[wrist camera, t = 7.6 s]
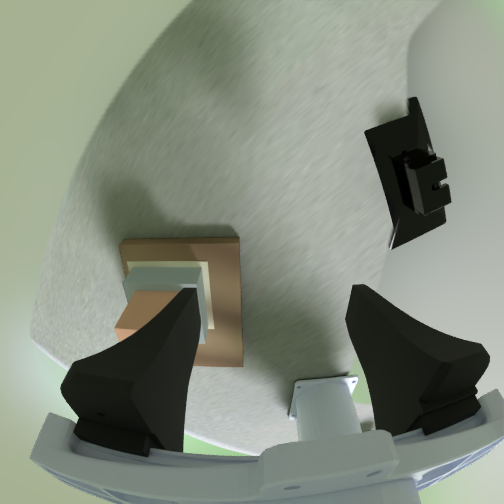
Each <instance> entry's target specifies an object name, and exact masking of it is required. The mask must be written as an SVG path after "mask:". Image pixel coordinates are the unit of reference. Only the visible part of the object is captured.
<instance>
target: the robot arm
mask: <svg viewBox="0 0 504 504" xmlns="http://www.w3.org/2000/svg"><path fill="white" fill-rule="evenodd" d="M345 320H346V324H347V329H348V332H349V336H350V339H351V341H352V344H353V346H354V349H355V351H356V354H357V356H358V358H359V361H360V363H361V366H362V368H363V371H364V374H365V377H366V380H367V384H368V388H369V392H370V397H371V402H372V407H373V413H374V419H375V427H376V430H372V431H366V432H362V430H361V426H360V423H359V419H358V416H357V412H356V409H355V406H354V402H353V399H352V396H351V395H352V393H353V390H354V388H355V386H356V383H357V381H358V375H350V376H342V377H333V378H323V379H312V380H299V381H297V382H296V383H295V387H294V393H293V398H292V403H291V408H290V414H289V420H296V423H297V431H298V439H299V441H298V442H291V443H285V444H279V445H276V446H273V447H271V448H268V449H266V450H265V451H263V453H262V454H261V455H260V456H218V455H203V454H192V453H183V440H184V423H185V411H186V401H187V392H188V385H189V380H190V376H191V372H192V368H193V364H194V360H195V356H196V352H197V348H198V344H199V339H200V331H201V316H200V309H199V302H198V294H197V288H185V287H184V288H183V289H182V290H181V291H180V292H179V293H178V294H177V295H176V296H175V297H174V298H173V299H172V300H171V301H170V302H169V303H168V304H167V305H166V306H165V307H164V308H163V309H162V310H161V311H160V312H159V313H158V314H157V315H156V316H155V317H154V318H152V319H151V320H150V321H149V322H148V323H147V324H145V325H144V326H143V327H142V328H140V329H139V330H138V331H136V332H135V333H133V334H132V335H130V336H129V337H127V338H126V339H124V340H122V341H121V342H119V343H117V344H116V345H114V346H112V347H110V348H108V349H106V350H104V351H101V352H99V353H97V354H95V355H92V356H89V357H87V358H84V359H81V360H78V361H75V362H73V364H72V366H71V367H70V369H69V371H68V373H67V375H66V377H65V379H64V380H63V382H62V384H61V388H60V389H61V393H62V395H63V397H64V399H65V400H66V402H67V403H68V404H69V406H70V407H71V408H72V409H73V411H74V412H75V413H76V414H77V416H78V417H79V419H78V421H77V424H76V423H75V422H73V421H72V420H70V419H67V418H65V417H62V416H59V415H56V414H53V413H49V414H48V416H47V418H46V420H45V422H44V424H43V426H42V429H41V431H40V433H39V435H38V438H37V440H36V443H35V445H34V447H33V450H32V452H31V455H30V459H31V460H32V461H33V462H34V463H36V464H37V465H38V466H40V467H41V468H42V469H44V470H45V471H47V472H48V473H49V474H51V475H52V476H54V477H55V478H57V479H58V480H60V481H61V482H63V483H65V484H67V485H70V486H72V487H74V488H76V489H79V490H81V491H84V492H86V493H88V494H91V495H94V496H96V497H99V498H102V499H104V500H107V501H110V502H113V503H116V504H421V502H420V498H419V495H418V491H421V490H423V489H425V488H427V487H429V486H431V485H433V484H435V483H437V482H440V481H441V480H443V479H445V478H447V477H449V476H451V475H453V474H455V473H456V472H458V471H460V470H462V469H464V468H465V467H467V466H469V465H470V464H472V463H474V462H475V461H477V460H479V459H480V458H482V457H483V456H485V455H487V454H488V453H489V452H490V451H492V450H493V449H494V448H495V447H496V446H497V445H498V444H500V443H501V442H502V441H503V440H504V399H503V397H502V396H501V394H500V392H499V391H498V389H495V390H493V391H491V392H489V393H487V394H485V395H483V396H481V397H480V398H479V399H478V400H477V398H476V396H475V395H476V394H477V392H478V390H477V388H476V387H475V385H476V384H477V382H478V381H479V379H480V378H481V377H482V375H483V374H484V372H485V370H486V369H487V367H488V365H489V362H490V356H489V354H488V353H487V351H486V350H485V348H484V347H483V346H482V344H480V343H476V342H471V341H467V340H463V339H459V338H456V337H453V336H450V335H447V334H445V333H442V332H440V331H438V330H435V329H433V328H431V327H429V326H427V325H425V324H423V323H421V322H419V321H417V320H416V319H414V318H412V317H410V316H409V315H408V314H406V313H404V312H403V311H401V310H400V309H399V308H397V307H395V306H394V305H393V304H391V303H390V302H389V301H387V300H386V299H384V298H383V297H382V296H380V295H379V294H378V293H376V292H375V291H374V290H372V289H371V288H369V287H368V286H366V285H365V284H360V285H352V290H351V295H350V300H349V304H348V309H347V313H346V317H345Z"/></svg>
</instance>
